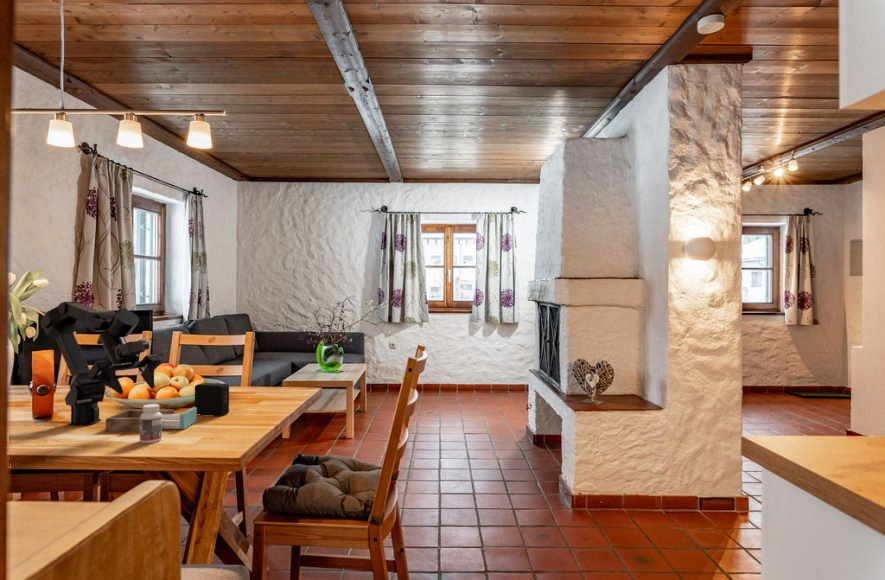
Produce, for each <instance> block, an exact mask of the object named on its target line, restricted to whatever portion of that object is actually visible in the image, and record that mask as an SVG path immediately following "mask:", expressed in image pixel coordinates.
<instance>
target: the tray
mask: <svg viewBox="0 0 885 580" xmlns="http://www.w3.org/2000/svg"><path fill="white" fill-rule="evenodd" d="M197 416H198V415H197V407H195V406H194V407H192V408H190V409H188V410H185V411H184V412H182V413H174V414H162V430H185V429H187V428H189V427H190V426H191V424H192V425H194V424H195V423H197V422H198V417H197ZM188 426H189V427H188Z"/></svg>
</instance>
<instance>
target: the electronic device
mask: <svg viewBox="0 0 885 580" xmlns="http://www.w3.org/2000/svg"><path fill="white" fill-rule="evenodd" d="M194 407H197V414H200V415H199V416H204V415H213V416H212V417H222V416H225V415H228V414H229V413H230V385H229V384H228V383H218V382H217V383H216V382H215V383H214V382H201V383H199V384H198V383H197V384H196V385H195V386H194Z"/></svg>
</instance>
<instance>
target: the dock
mask: <svg viewBox="0 0 885 580" xmlns="http://www.w3.org/2000/svg"><path fill="white" fill-rule="evenodd" d="M158 412H160V413H161V414H175V409H159V411H158ZM143 413H144V412H143V409H126V410H125V409H124V410H123V411H120V412H119V413H116V414H114V415H112V416H109V417H106V418H105V432H140V416H141V414H143Z"/></svg>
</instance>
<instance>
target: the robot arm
mask: <svg viewBox="0 0 885 580" xmlns="http://www.w3.org/2000/svg"><path fill="white" fill-rule="evenodd" d="M139 318H140V317H139V316H138V315H136V314H135V313H134V312H133V311H130V310H128V309H127V307H120V308H118V310H117V312H116V311H111V310H98V309H95V308H93V307H90V306H88V305H85V304H82V303H80V302H79V301H62V302H60V303H59V304H58V305H57V306H56V307H54V308H51V309H50V310H47V311H46V313H45V314H44V315H43V316H42V318H41V319H40V326H41V328H42V329H43V331H44V333H45V334H46V335H47V337H49V338H51V339H53V340H55V342H56V344H57V346H58V348H59V351H60V353H61V354H62V357H63V360H64V362H65V365H66V366H67V369H68V371H69V374H70V375H71V381H70V384H69V391H68V392H67V395H65V397H64V401H65V405H66V406H70V422H68V423H67V426H91V425H94V424H95V423H98V422H100V421H102V419H101V418H100V407H99V403H100V402H101V403H102V402H104V398H105V394H106V390H107V389H106V387H108V388H109V389H111V390H114V391H115V392H116V393H117V394H119V395H123V393H124V389H123V387H122V384H121V382H120V381H119V378H118V377H117V374H116V373H117V371H126V370H129V371H130V370H135V369H138V371H139V372H140V376H141V377H142V379H143V380H144V381H145V383H146V384H147V385H148V387H149V388H150V389H151V390H153V389H155V386H156V385H155V370H156V369H157V368H158V367H159V366H160V364H161V363H162V361H163V360H162V358H161V357H160V355H159V354H149V355H148V354H147V355H145V356H144V357H142V359H141V360H139V358H140V355H139V354H141V353H145V352H146V351H147V350H149V349H150V343H149V340H147V338H141V339H139V340H134V341H128V342H127V340H126V337H129V335H131V333H132V332H133V330H134V328H136V326H138V324H139V321H140V319H139ZM79 321H81V322H83V323H85V325H86V328H88V329H89V330H90V331H91V332H94V333H96V332H101V334H99V335H98V339H97V341H96V344H97V345H102V347H103V348H104V350H105V352H106V355H105V356H104V358H105V359H103V360H96V361H95V362H94V363H93V365H92V366H91V368H90V367H89V365H88V363H87V360H86V359H85V357H84V354H83V351H82V349H81V347H80V346H79V343H78V341H77V338H76V336H75V333H74V332H75V330H76V328H77V327H76V326H77V323H78V322H79ZM136 360H138V361H136Z"/></svg>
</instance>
